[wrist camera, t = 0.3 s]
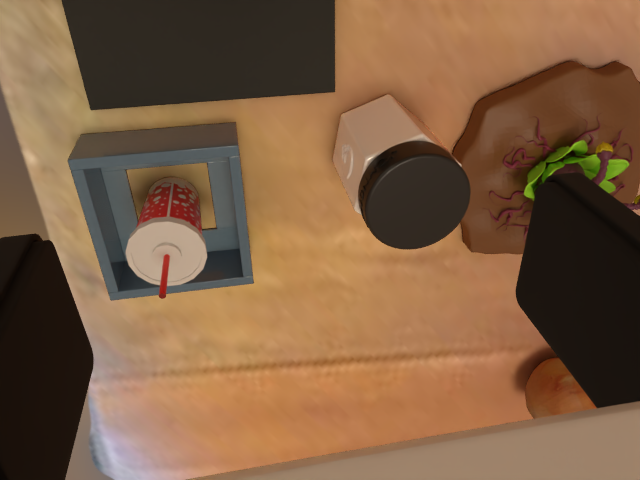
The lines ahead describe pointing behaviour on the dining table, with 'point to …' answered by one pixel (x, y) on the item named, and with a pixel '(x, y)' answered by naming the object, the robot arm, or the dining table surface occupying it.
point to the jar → (399, 175)
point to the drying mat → (201, 49)
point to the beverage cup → (168, 236)
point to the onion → (554, 391)
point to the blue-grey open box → (119, 210)
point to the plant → (547, 147)
